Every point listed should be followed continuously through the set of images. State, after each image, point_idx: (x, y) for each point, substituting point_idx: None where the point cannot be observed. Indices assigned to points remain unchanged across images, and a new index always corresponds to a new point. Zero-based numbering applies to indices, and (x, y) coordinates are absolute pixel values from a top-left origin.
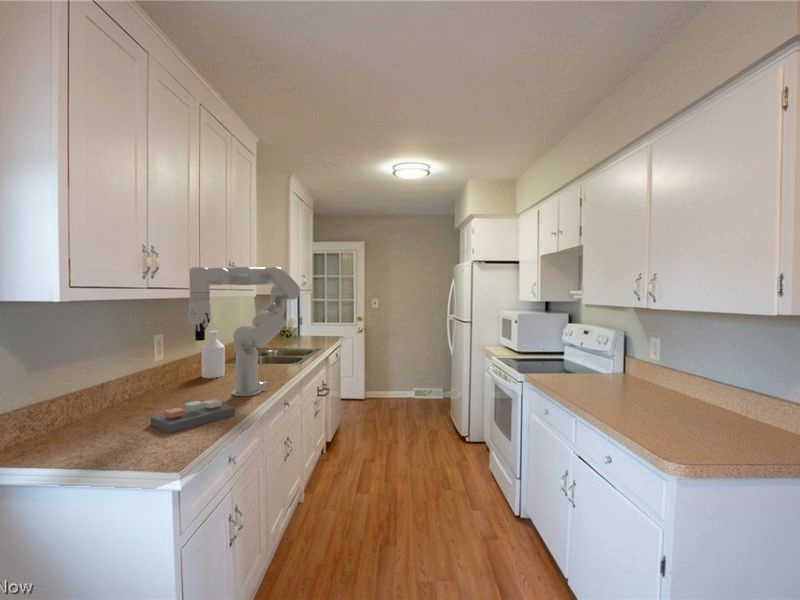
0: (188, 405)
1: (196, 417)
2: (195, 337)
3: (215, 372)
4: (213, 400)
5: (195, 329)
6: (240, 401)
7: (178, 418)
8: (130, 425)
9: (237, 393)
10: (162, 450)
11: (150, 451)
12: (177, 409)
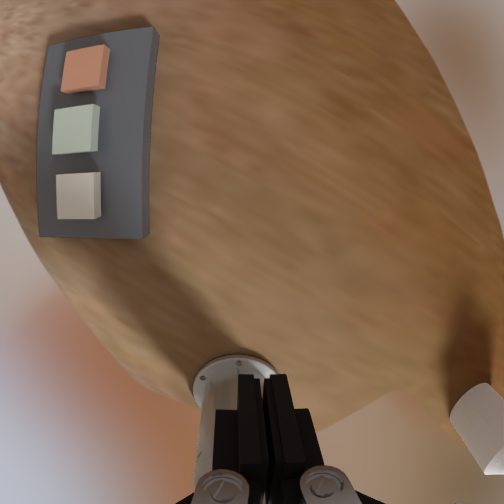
0: (69, 107)
1: (40, 115)
2: (286, 394)
3: (462, 411)
4: (80, 204)
5: (329, 486)
6: (164, 327)
7: None
8: (209, 5)
9: (231, 363)
10: (4, 27)
11: (18, 10)
12: (81, 76)
